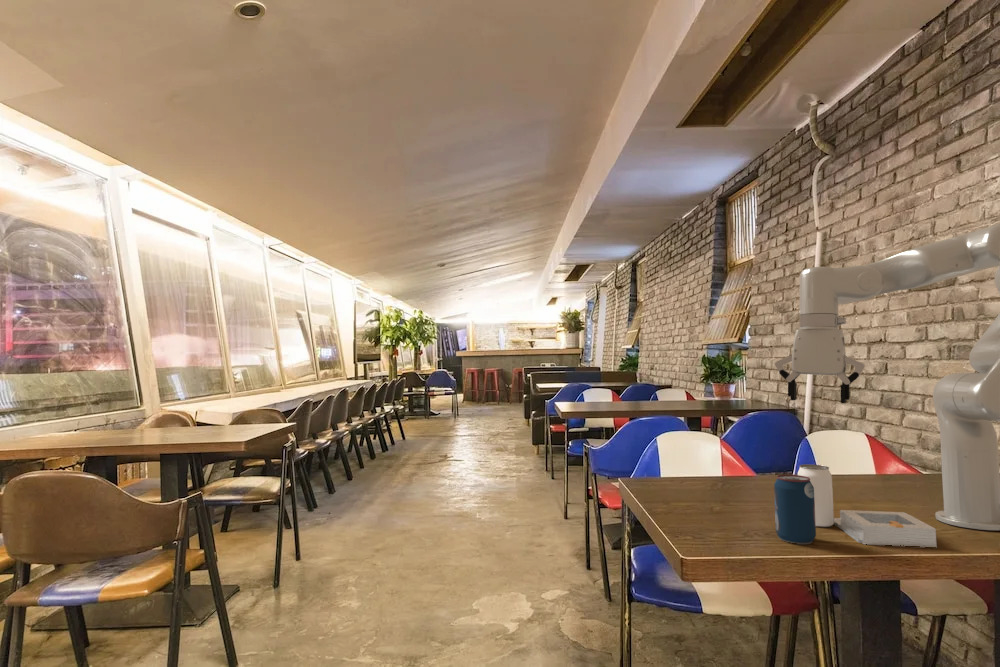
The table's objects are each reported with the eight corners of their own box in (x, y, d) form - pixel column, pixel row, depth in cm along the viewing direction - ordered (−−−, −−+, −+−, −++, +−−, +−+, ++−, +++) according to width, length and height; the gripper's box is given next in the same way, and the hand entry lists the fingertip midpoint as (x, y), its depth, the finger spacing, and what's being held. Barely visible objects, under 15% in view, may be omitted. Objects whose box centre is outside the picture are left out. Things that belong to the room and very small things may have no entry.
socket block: (897, 523, 122) (896, 504, 122) (940, 548, 105) (939, 527, 105) (829, 520, 124) (828, 502, 125) (861, 544, 107) (860, 523, 108)
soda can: (824, 543, 109) (822, 479, 109) (794, 547, 107) (792, 481, 107) (796, 533, 115) (794, 472, 116) (767, 536, 113) (765, 475, 114)
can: (838, 528, 118) (836, 469, 119) (804, 526, 120) (802, 468, 120) (827, 520, 125) (825, 464, 125) (795, 518, 126) (793, 463, 127)
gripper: (866, 324, 124) (866, 403, 123) (779, 325, 135) (778, 398, 134) (863, 321, 118) (863, 405, 117) (772, 322, 129) (771, 399, 128)
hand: (817, 401), depth 125 cm, fingers open, 9 cm apart
